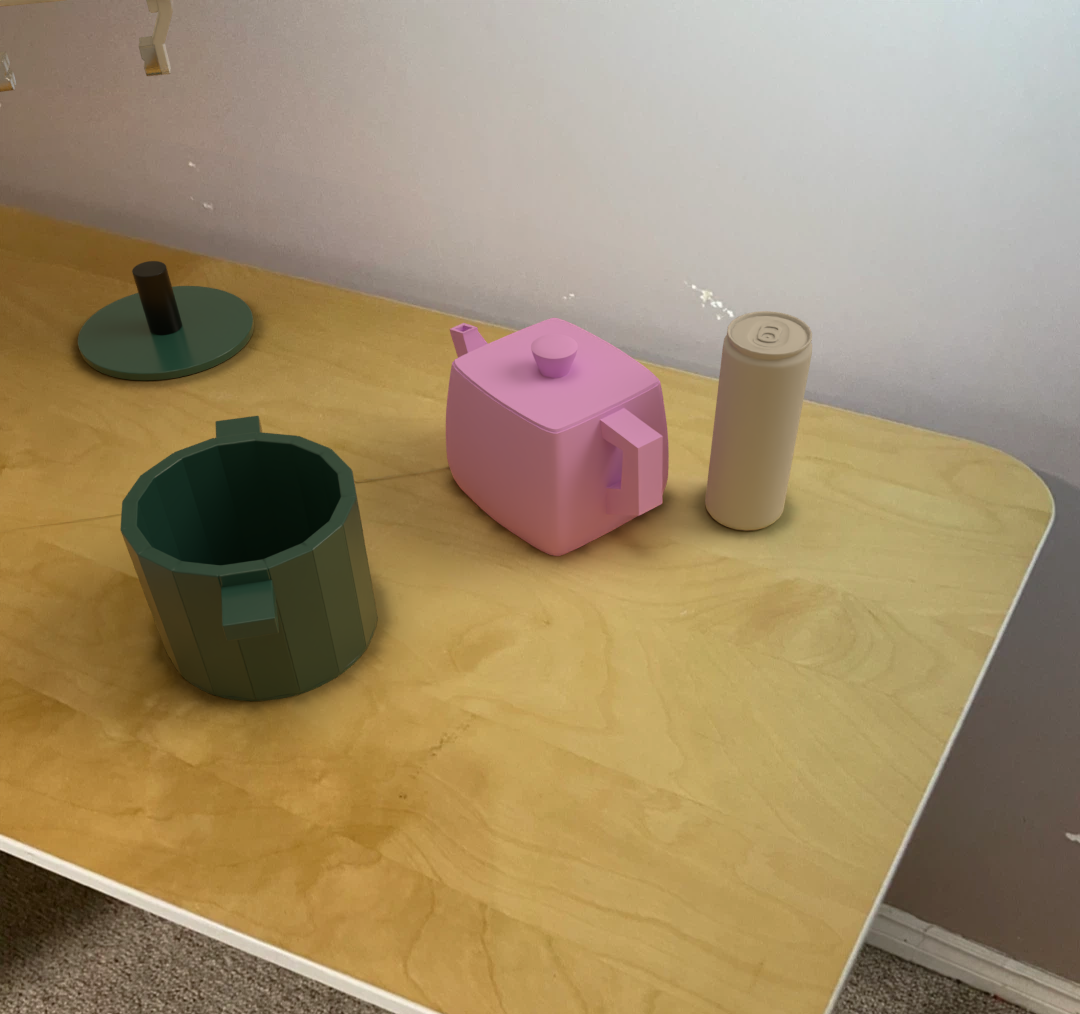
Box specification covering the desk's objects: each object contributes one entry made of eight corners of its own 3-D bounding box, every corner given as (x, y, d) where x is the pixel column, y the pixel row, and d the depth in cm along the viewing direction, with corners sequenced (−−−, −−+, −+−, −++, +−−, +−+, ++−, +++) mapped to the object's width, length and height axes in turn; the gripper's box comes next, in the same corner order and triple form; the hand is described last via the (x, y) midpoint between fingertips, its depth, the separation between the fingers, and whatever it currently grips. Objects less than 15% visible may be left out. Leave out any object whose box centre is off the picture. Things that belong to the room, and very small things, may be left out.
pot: (167, 759, 56) (113, 630, 50) (170, 549, 68) (126, 420, 61) (395, 721, 58) (372, 591, 51) (361, 521, 69) (339, 393, 62)
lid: (77, 398, 79) (49, 323, 75) (87, 310, 87) (63, 239, 83) (259, 375, 81) (242, 300, 76) (252, 291, 89) (236, 219, 85)
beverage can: (695, 527, 68) (715, 347, 59) (713, 482, 71) (735, 304, 62) (774, 542, 67) (806, 361, 58) (789, 495, 70) (821, 316, 61)
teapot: (403, 457, 74) (384, 311, 66) (528, 399, 78) (524, 256, 70) (580, 597, 64) (581, 446, 56) (711, 523, 68) (729, 372, 61)
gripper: (193, -229, 63) (248, 47, 73) (-193, -201, 60) (-79, 80, 70) (193, -210, 58) (252, 80, 69) (-221, -178, 56) (-96, 117, 66)
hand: (81, 80), depth 69 cm, fingers open, 8 cm apart
